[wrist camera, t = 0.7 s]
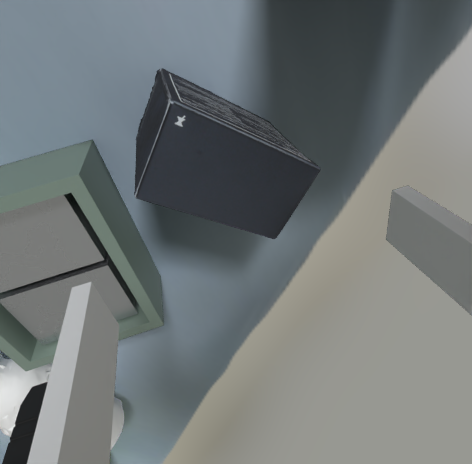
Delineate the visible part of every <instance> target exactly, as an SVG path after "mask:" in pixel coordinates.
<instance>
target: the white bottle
mask: <svg viewBox="0 0 472 464" xmlns="http://www.w3.org/2000/svg"><path fill="white" fill-rule="evenodd" d="M52 364H53V363H50V364H47V365H44V366H41V367H38V368H35V369H32V370H29V371H25V370H23V369H22V368H21V367H20V366H19V365H18V364H16V363H15V362H14V361H13V360H12V359H4V358H3V356H2V355H1V354H0V429H1V430H2V432H3V433H4V434H5V435H7V436H10V437H11V434H12V431H13V428H14V427H15V421H16V418H17V415H18V412H19V408H20V405H21V404H22V402H23V400H24V399H25V397H26V396H27V394H28V393H29V391H30V389H31V388H32V387H33V386H36V385H39V384H42V383H45V382H48V379H49V375H50V372H51V368H52ZM123 425H124V411H123V408H122V401H121V400H119V399H118V398H116V397H114V407H113V421H112V436H111V449H112V448H113V446H114V445H115V443H116V442H117V440H118V438H119V436H120V434H121V432H122V429H123ZM110 451H111V450H110Z"/></svg>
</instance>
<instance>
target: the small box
mask: <svg viewBox="0 0 472 464" xmlns="http://www.w3.org/2000/svg"><path fill="white" fill-rule="evenodd" d="M136 141H137V142H136V171H135V172H136V174H135V192H134V195H135V198H137V199H140V200H144V201H147V202H151V203H154V204H157V205H161V206H164V207H168V208H171V209H174V210H178V211H181V212H185V213H188V214H192V215H195V216H198V217H202V218H205V219H209V220H212V221H215V222H219V223H222V224H225V225H229V226H232V227H235V228H239V229H242V230H245V231H249V232H252V233H255V234H258V235H262V236H265V237H268V238H272V239H275V238H277V236H278V235H279V233H280V232H281V230H282V229H283V227H284V226H285V224H286V223H287V222H288V220H289V218H290V217H291V215H292V214H293V212H294V211H295V209H296V208H297V206H298V204H299V203H300V201H301V200H302V198H303V197H304V195H305V193H306V192H307V190H308V189H309V187H310V186H311V184H312V183H313V181H314V179H315V178H316V176H317V175H318V173H319V172H320V170H321V169H320V167H319V166H318V165H316V164H315V163H313V162H312V161H311V160H310V159H308V158H307V157H306V156H305V155H304V154H302V153H301V152H300V151H299V150H298V149H297V148H296V147H295V146H294V145H292V144H291V143H290V142H289V141H288V140H287V139H286V138H285V137H284V136H283V135H282V134H281V133H280V132H279V131H277V129H276V128H275V127H274V126H273V125H272V124H271V123H270V122H269V121H266V120H264V119H263V118H261V117H259V116H257V115H255V114H253V113H251V112H249V111H247V110H245V109H243V108H241V107H240V106H237V105H235V104H233V103H231V102H229V101H227V100H225V99H223V98H221V97H219V96H217V95H215V94H213V93H212V92H210V91H208V90H205V89H204V88H201V87H199V86H198V85H195V84H194V83H191V82H189V81H187V80H185V79H183V78H181V77H179V76H177V75H175V74H172V73H170V72H168V71H166V70H165V69H163V68H162V69H159V70H158V71H157V74H156V77H155V84H154V86H153V87H152V92H151V93H150V99H149V101H148V104H147V107H146V109H145V113H144V115H143V118H142V119H141V122H140V126H139V130H138V134H137V137H136Z"/></svg>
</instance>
